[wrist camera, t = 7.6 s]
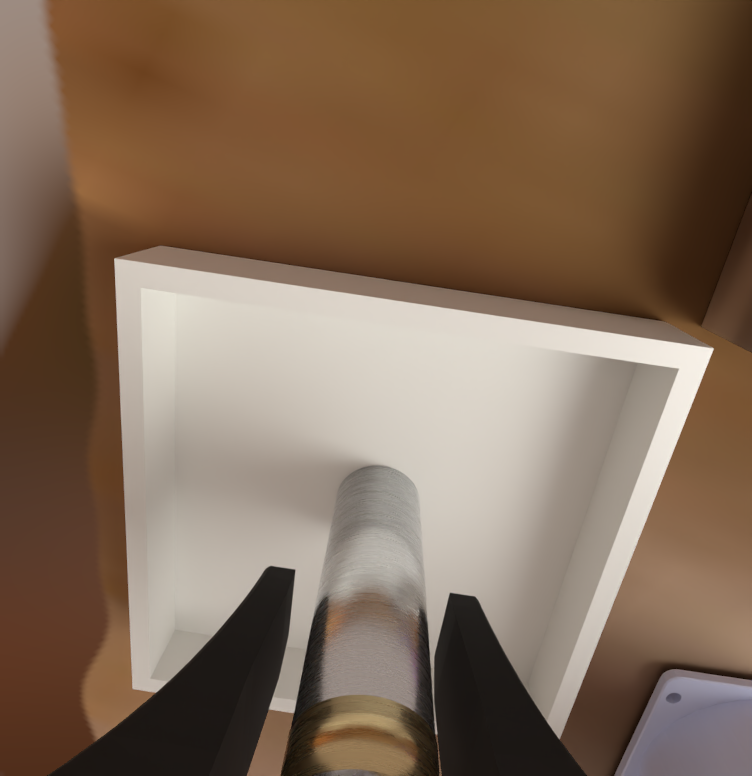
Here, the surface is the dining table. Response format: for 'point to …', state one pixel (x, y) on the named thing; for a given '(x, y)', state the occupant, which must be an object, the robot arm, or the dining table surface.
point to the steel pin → (368, 641)
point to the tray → (385, 450)
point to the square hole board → (734, 290)
